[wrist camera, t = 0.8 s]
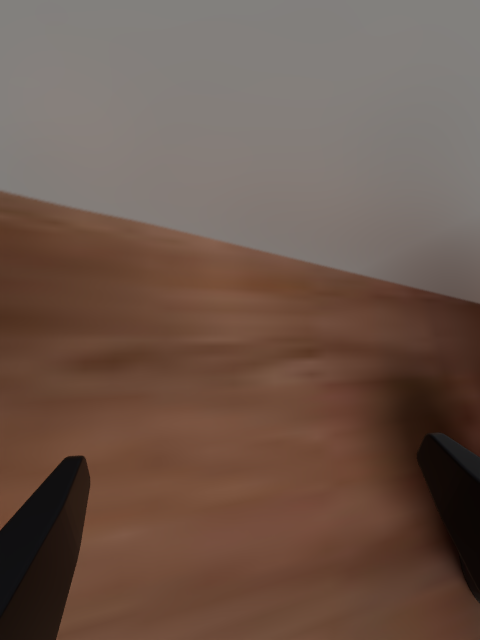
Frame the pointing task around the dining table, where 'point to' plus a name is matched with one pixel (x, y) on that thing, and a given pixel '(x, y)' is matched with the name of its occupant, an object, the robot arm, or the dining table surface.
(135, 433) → the dining table surface
